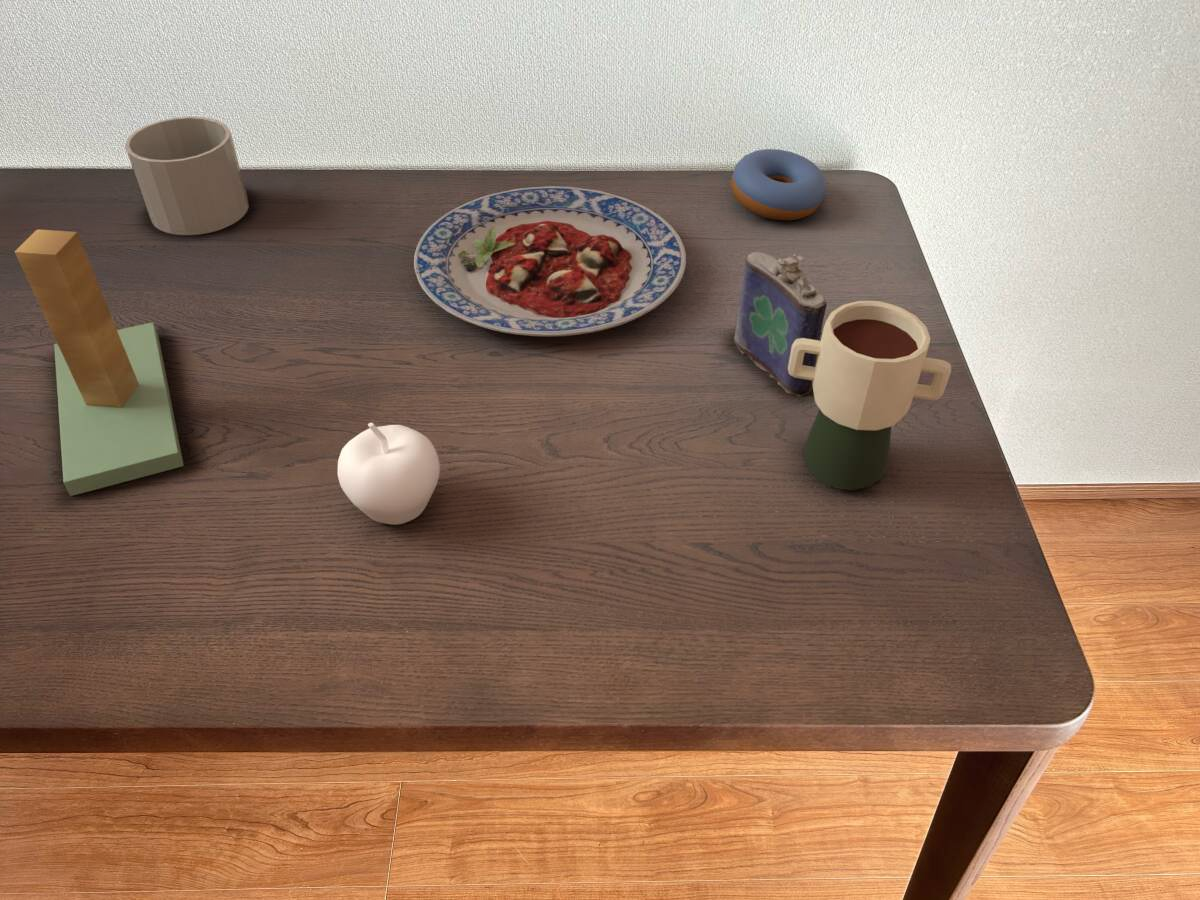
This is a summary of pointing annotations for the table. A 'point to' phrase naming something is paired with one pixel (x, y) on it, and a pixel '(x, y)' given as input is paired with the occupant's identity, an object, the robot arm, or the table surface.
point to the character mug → (863, 388)
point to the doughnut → (778, 184)
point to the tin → (188, 175)
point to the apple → (389, 472)
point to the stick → (78, 316)
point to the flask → (778, 316)
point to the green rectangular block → (119, 422)
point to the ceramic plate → (549, 261)
